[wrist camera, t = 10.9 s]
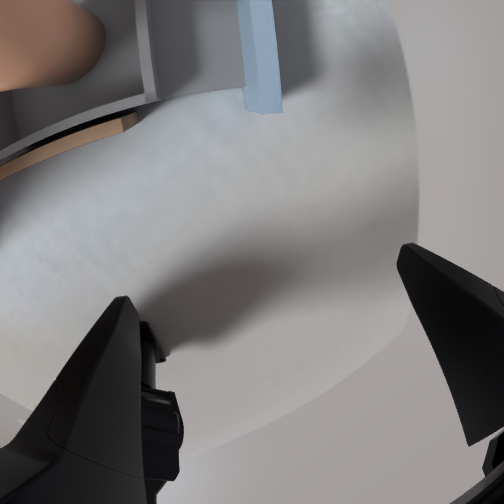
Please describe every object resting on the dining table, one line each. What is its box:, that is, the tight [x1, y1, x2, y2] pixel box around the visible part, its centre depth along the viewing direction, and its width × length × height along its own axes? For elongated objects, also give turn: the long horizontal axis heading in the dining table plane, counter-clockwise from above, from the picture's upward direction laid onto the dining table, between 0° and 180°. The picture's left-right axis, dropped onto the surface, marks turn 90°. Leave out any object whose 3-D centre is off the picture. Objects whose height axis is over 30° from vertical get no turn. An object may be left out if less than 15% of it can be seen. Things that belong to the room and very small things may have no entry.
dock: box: [0, 112, 139, 180], centre depth 9 cm, size 14×18×5 cm
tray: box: [0, 0, 283, 160], centre depth 10 cm, size 15×18×4 cm
